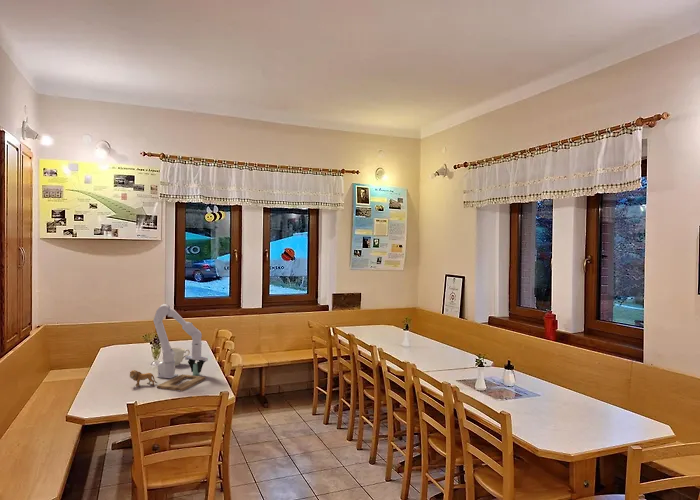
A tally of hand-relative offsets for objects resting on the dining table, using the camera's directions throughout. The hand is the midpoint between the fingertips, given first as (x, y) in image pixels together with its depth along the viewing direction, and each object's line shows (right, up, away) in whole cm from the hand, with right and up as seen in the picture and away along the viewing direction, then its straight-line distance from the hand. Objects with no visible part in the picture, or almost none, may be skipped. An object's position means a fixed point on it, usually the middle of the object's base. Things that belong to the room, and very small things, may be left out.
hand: (196, 372), depth 302 cm
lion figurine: (-24, -2, -22) cm, 33 cm away
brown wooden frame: (-3, -2, -18) cm, 18 cm away
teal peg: (0, -2, 0) cm, 2 cm away
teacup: (-20, -1, +24) cm, 31 cm away
